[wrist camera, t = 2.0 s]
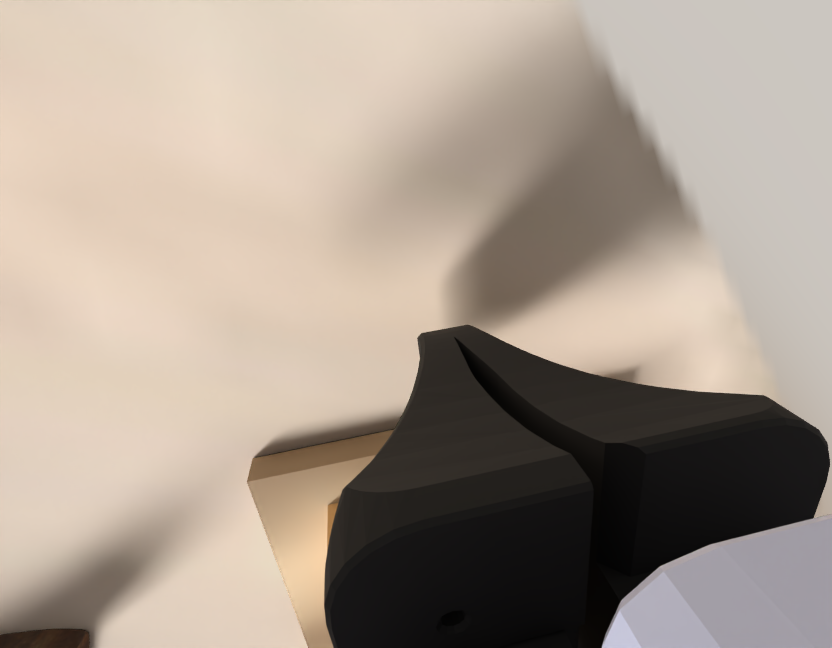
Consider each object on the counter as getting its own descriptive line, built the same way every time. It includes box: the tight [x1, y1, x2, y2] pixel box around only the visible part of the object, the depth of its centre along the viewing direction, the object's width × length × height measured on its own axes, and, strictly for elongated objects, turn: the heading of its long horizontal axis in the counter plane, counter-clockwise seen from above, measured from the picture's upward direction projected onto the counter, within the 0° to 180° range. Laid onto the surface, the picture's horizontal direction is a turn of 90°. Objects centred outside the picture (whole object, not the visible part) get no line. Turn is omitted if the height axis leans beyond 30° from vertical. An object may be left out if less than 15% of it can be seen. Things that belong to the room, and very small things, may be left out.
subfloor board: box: [247, 430, 394, 648], centre depth 17 cm, size 17×12×1 cm
